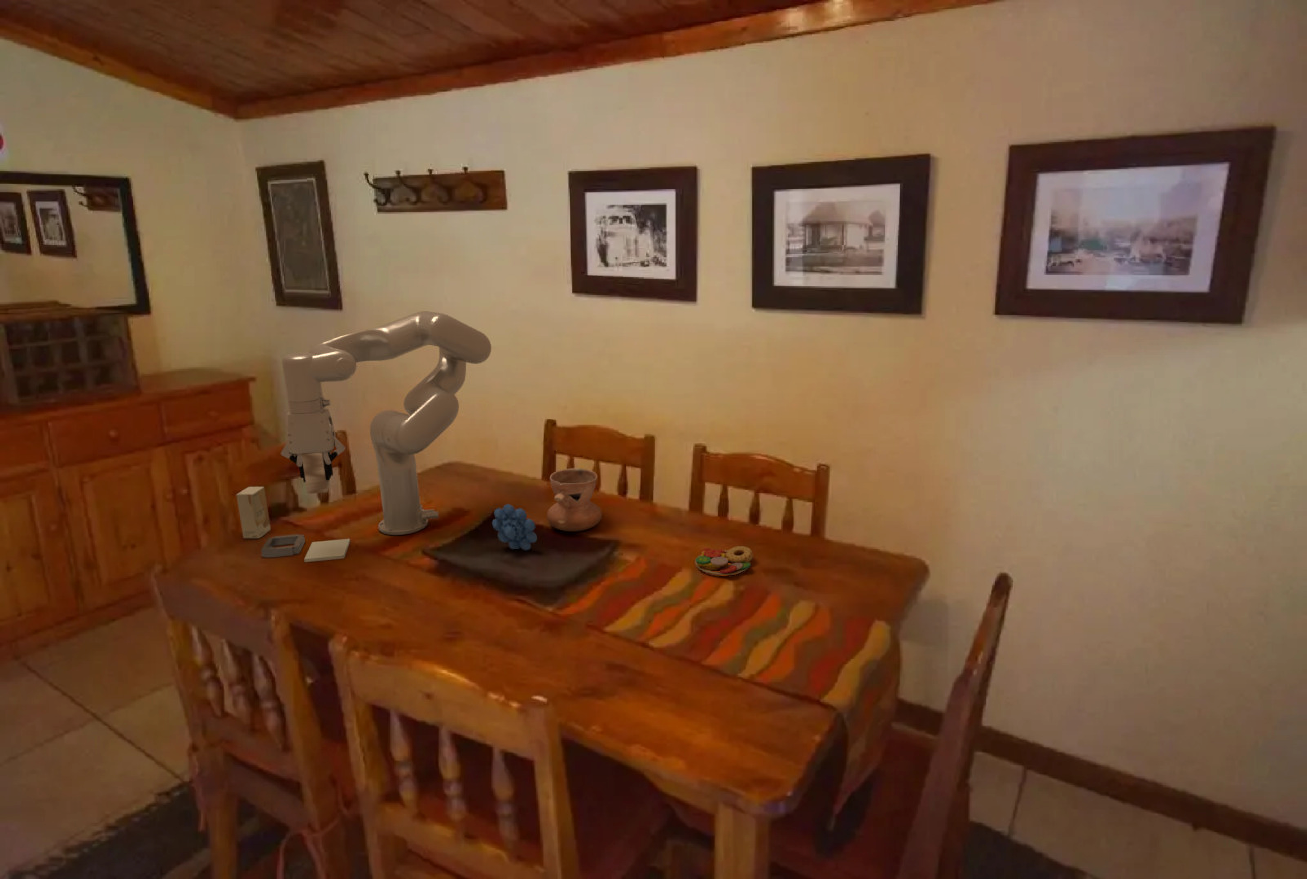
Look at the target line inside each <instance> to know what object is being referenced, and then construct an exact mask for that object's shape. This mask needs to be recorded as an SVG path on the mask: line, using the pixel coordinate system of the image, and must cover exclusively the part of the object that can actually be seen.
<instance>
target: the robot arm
mask: <svg viewBox="0 0 1307 879" xmlns="http://www.w3.org/2000/svg"><path fill="white" fill-rule="evenodd" d="M425 346H433V347H437V348H438V349H439V350H438V353H439V354H438V362H437V365H436V366H435V367H434V369H432V370H431V372H430V373H429V374H428V375H427V376H425V377H424V378H423V379H422V380H421V381H419V382H418V383H417V384H416V385H415V386H414V387H413V388H412V389H410V391H409V392H407V394H405V395H406V396H405V397H404V400H403V407H404V410H405V411H406V413H407V414H406V413H403V412H401V411H398V410H397V411H396V410H391V409H390V410H387V409H386V410H383V411H380V412H378V413H377V414H376V415H375V416H374V417H373V418H372V420H371V422H370V425H369V435H370V440H371V443H372V446H373V450H374V454H375V459H376V466H377V473H378V481H379V482H378V483H379V490H380V499H381V506H382V513H383V519H382V520H380V522H379V523H378V527H377V528H378V530H379V532H381V533H382V534H385V535H391V536H398V535H399V536H401V535H402V536H403V535H410V534H412V533H417V532H418V531H421V530H422V529H424V528H426V527H427V526H428V523H429V520H430V519H432V520H434V519H435V520H436V519H439V511H438V510H436V511H435V509H434V508H433V509H432V508H431V509H425V508H423V504H421V503H420V502H421V501H420V492H419V482H418V473H417V472H418V471H417V463H416V457H415V455H417V454H419V453H421V452H422V451H424V450H425V449H426V448H428V447H429V446H430V445H431V444H432V443H433V442H434V441H435V440H436V439H438V437H440V435H442V434H443V433H444V432H445V430H447V429H448V428H449V427H450V426H451V425H452V423H453V422H455V420H456V418H457V415H458V413H459V407H460V404H459V403H460V402H459V401H458V398H457V396H456V394H457V393H458V392H459V391H460V389H461V388H462V387H463V385H464V383H465V380H466V375H467V364H474V365H477V364H478V365H479V364H482V363H483V362H486V360H488V358H489V357H490V356H491V352H492V344H491V340H490V338H488V336H487V335H485V333H483V332H482V331H480V330H477V329H476V328H474V327H472V326H469V325H468V324H466V323H464V322H462V321H460V320H458V319H456V318H454V317H452V316H450V315H448V314H445V313H441V312H433V311H430V310H429V311H427V310H426V311H425V310H424V311H423V310H422V311H418V312H417V311H416V312H415V313H411V314H409V315H407V316H404V317H402V318H399V319H397V320H394V321H391V322H388V323H385V324H383V325H380V326H377V327H373V328H368V329H365V330H361V331H357V332H352V333H348V334H344V335H341V336H337V337H334V338H332V339H329V340H327V341H324V342H321V343H319V344H316V345H314V346H313V347H311V348H310V349H309V350H308V351H307V352H305V351H304V352H294V353H289V354H286V355H284V356H283V358H282V360H281V364H282V365H281V366H282V370H283V371H282V372H283V379H284V384H285V390H286V396H287V404H288V410H289V411H288V412H287V413H286V439H287V442H286V444H285V446H284V447H283V449H282V450H281V452H280V455H281V456H282V457H285V458H287V459H288V460H290V461H291V462H292V463H294V464H296V466H297V467H298V470H299V476H300V478H301V479H302V480H303V481H302V482H303V483H306V480H305V474H304V468H303V461H302V455H301V454H306V453H319V452H322V454H323V458H324V460H325V465H324V469H325V476H326V480H330V479H331V478H332V476H334V471H333V470H334V469H333V463H332V462H333V461H334V460H335V459H336V458H337V457H338V456H339V455H340V454H342V453H343V452H344V451H345V449H346V446H345V445H344V444H343V443H342V442H341V441H340V440H339V439H338V438H337V437H336V436H337V435H336V432H335V427H334V422H333V418H332V416H331V412H330V410H329V408H326V407H328V406H331V400H330V399H325V397H324V396H323V388H322V383H327V382H328V383H331V382H342V381H347V380H349V379H350V378H351V377H352V376H353V375H354V374H355V373H356V370H357V363H362V362H370V361H371V362H372V361H374V362H375V361H378V362H380V361H381V362H382V361H389V360H393V359H396V358H398V357H401V356H404V355H406V354H409V353H410V352H413V351H416V350H418V349H420V348H423V347H425ZM334 447H335V448H336V449H334ZM330 481H331V480H330Z"/></svg>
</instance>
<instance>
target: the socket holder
mask: <svg viewBox="0 0 1307 879" xmlns="http://www.w3.org/2000/svg"><path fill="white" fill-rule="evenodd" d="M305 543H306V539H305V535H304V534H300V533H299V534H298V533H297V534H287V535H276V536H272V537H268V538H267V539H266V541H265V543H264V544H263V546H262V547H261V549H260V552H261V557H262V558H267V559H269V558H270V559H271V558H281V557H288V556H294V555H299V554H300V553H301V551H302V549H303V547H304V545H305ZM285 545H288V546H285ZM289 545H290V546H289ZM275 546H277V547H275Z"/></svg>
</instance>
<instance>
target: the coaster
mask: <svg viewBox="0 0 1307 879" xmlns="http://www.w3.org/2000/svg"><path fill="white" fill-rule="evenodd" d="M350 543H351V539H350V538H342V539H332V540H323V541H312V542H311V544H310V545H309V549H308V550H307V552H306V554H305V557H304V558H303V559H304V560H303V561H304V563H310V562H321V561H328V560H329V561H331V560H340V559H345V557H346V554H347V553H348V552H347V551H348V549H349V547H350Z"/></svg>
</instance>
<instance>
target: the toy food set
mask: <svg viewBox="0 0 1307 879" xmlns="http://www.w3.org/2000/svg"><path fill="white" fill-rule="evenodd" d="M753 556H754V555H753V551H752V549H751V548H749V547H747V546H744V545H743V546H742V545H741V546H739V545H738V546H733V547H731V548H729V549H728V550H726V549H717V550H716V549H711V548H709V547H708V548H707V547H706V548H704V549H703V550H702V551H701V552H700V554H699V555H698V556H697V557H696V558H695V561H694V563H695V566H696V567H697V568H698V570H700V571H701V570H702V572H703V571H704V572H706V573H709V574H713V575H734V574H738V573H741V572H743V571H744V572H745V571H746V570H748V569H749V568H750V567H751V562H750V561H752V560H753ZM728 563H731V564H730V565H728ZM709 570H710V571H709ZM713 571H720V572H713ZM704 572H703V573H704ZM744 572H743V573H744ZM706 573H705V574H706ZM709 574H708V575H709ZM741 574H742V573H741ZM713 575H712V576H713Z"/></svg>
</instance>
